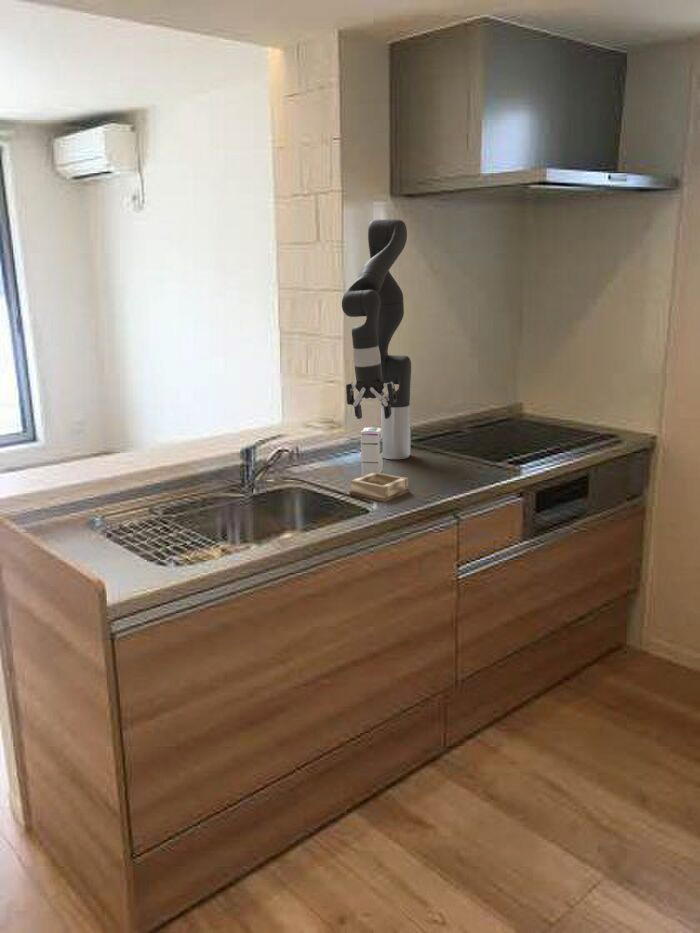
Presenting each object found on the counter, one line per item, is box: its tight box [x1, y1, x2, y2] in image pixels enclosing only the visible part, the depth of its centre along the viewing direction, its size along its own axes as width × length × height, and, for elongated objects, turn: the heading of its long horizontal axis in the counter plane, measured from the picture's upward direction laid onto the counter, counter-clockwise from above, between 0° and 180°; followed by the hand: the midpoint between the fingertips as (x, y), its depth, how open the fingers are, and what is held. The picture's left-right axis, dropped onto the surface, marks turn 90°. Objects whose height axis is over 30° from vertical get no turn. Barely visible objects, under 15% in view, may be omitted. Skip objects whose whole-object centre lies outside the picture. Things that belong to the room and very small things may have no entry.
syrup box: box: [360, 426, 384, 477], centre depth 235 cm, size 6×6×14 cm
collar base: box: [348, 472, 410, 503], centre depth 219 cm, size 12×12×4 cm
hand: (373, 418), depth 225 cm, fingers open, 8 cm apart
